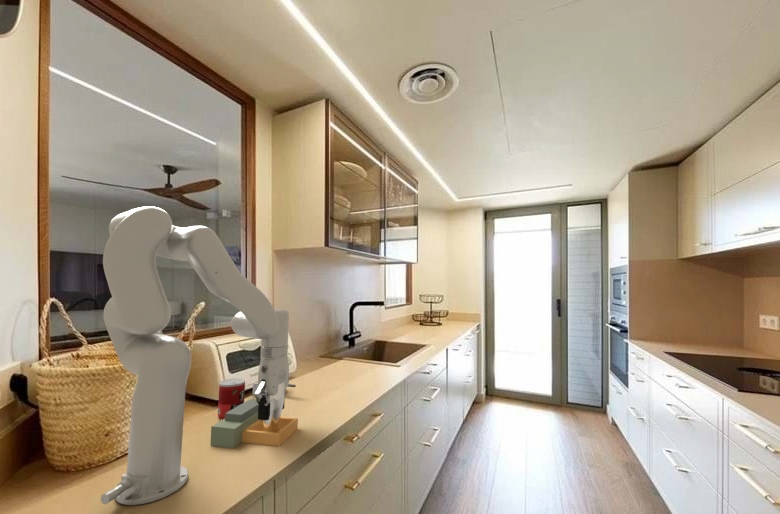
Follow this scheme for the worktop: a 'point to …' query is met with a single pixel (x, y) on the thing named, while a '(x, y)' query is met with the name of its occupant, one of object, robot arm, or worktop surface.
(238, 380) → the canned food
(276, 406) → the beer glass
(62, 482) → the worktop surface
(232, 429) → the stepped block with tray
